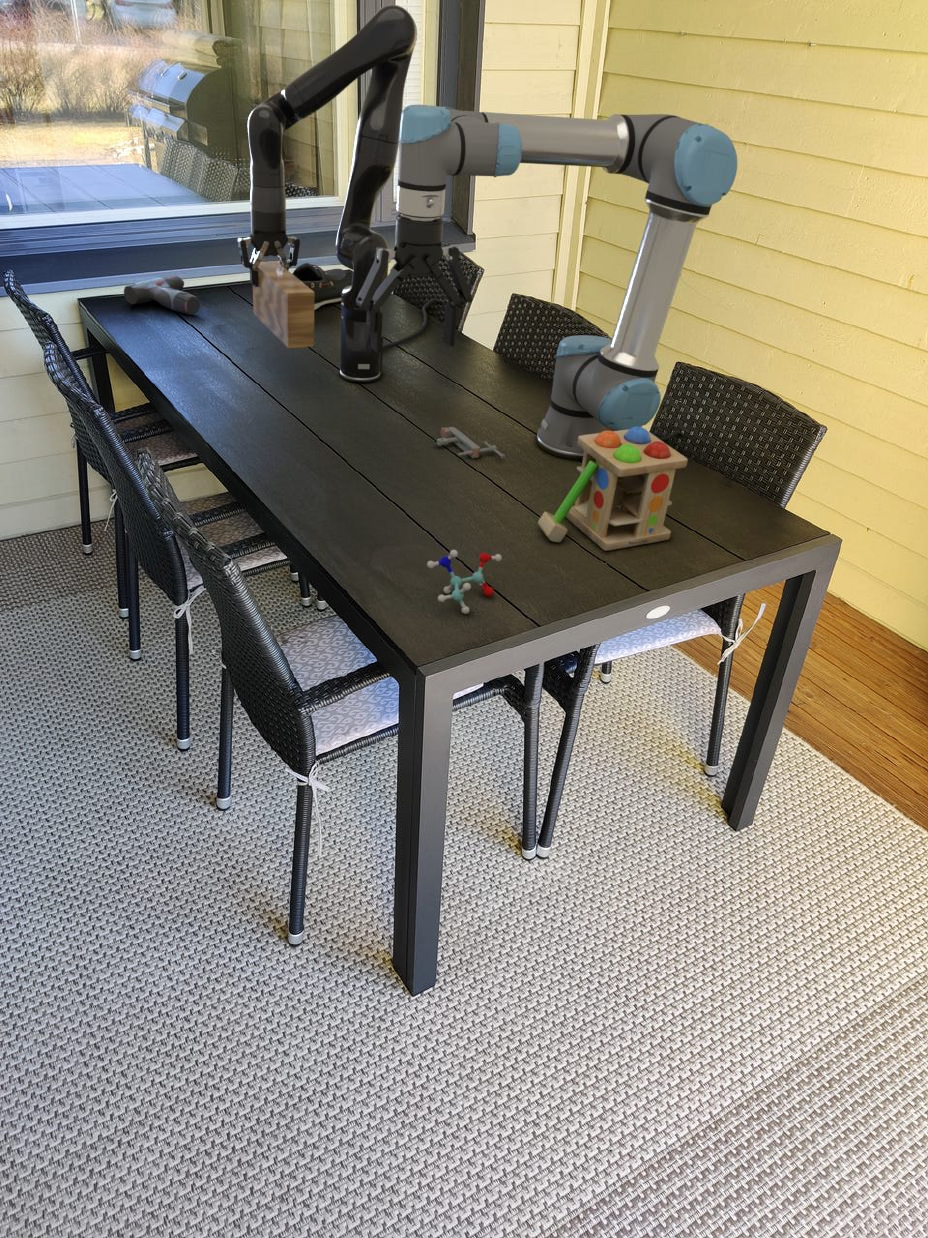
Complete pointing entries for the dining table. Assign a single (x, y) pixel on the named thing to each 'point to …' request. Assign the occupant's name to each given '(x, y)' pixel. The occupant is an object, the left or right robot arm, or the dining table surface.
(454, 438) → the clamp
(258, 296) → the box
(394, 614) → the dining table surface
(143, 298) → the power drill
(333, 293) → the boat shoe
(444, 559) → the molecular model
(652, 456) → the pounding bench toy
